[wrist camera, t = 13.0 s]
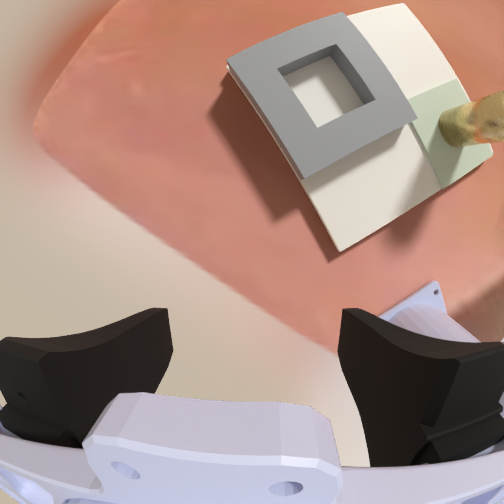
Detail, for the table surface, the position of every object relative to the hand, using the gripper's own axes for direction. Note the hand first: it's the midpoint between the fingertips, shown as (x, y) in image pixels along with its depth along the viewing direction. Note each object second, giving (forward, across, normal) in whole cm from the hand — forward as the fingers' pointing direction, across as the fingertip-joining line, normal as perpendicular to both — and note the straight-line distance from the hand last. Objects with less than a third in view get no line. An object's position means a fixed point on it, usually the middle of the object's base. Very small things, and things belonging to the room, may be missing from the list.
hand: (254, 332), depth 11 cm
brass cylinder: (+8, -15, -11) cm, 20 cm away
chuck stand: (+9, -9, -12) cm, 18 cm away
